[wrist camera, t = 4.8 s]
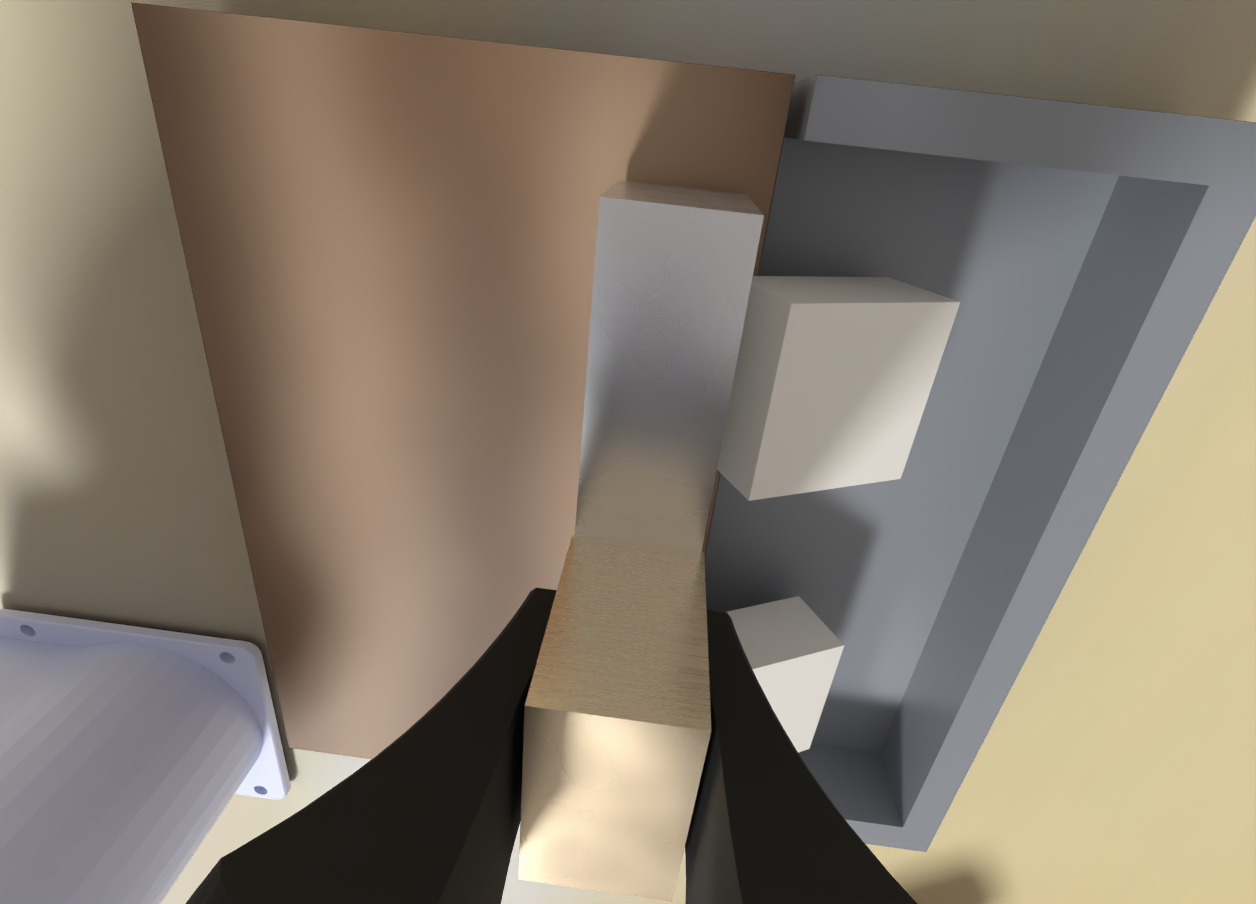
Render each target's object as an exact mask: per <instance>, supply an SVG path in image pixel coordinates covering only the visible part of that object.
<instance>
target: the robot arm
mask: <svg viewBox="0 0 1256 904" xmlns="http://www.w3.org/2000/svg"><path fill="white" fill-rule="evenodd" d="M556 591H557V590H551V589H544V588H535V589H533V590H532V591H530V593H529V594H528V596H527V598H526V599H525V601H524V602H523V604H522V605H521V606H520V608H519V609H518V611H517V612H516V614H515V615H514V616H513V618H512V619H511V620H510V622H509V623H508V624H507V626H506V627H505V628H504V629H503V631H502V632H501V633H500V635H499V636H498V637H497V638H496V639H495V640H494V642H493V643H492V644H491V645H490V646H489V648H488V649H487V650H486V651H485V652H484V654H483V655H482V656H481V657H480V658H479V660H478V661H477V662H476V663H475V664H474V665H473V666H472V667H471V668H470V669H469V670H468V672H467V673H466V674H465V675H464V676H463V677H462V678H461V679H460V680H459V681H458V682H457V683H456V684H455V685H454V686H453V687H452V688H451V689H450V691H449V692H448V693H447V694H446V695H445V696H444V697H443V698H442V699H441V700H440V701H439V702H437V703H436V704H435V705H434V706H433V707H432V708H431V709H430V710H429V711H428V712H427V713H426V714H425V715H424V716H423V717H422V718H420V719H419V720H418V721H417V722H416V723H415V724H414V725H413V726H411V727H410V728H409V729H408V730H407V731H406V732H405V733H404V734H402V735H401V736H400V737H399V738H398V739H396V740H395V741H394V742H393V743H391V744H390V745H389V746H388V747H387V748H385V749H384V750H383V751H382V752H380V753H379V754H378V755H377V756H376V757H374V758H373V759H372V760H370V761H369V762H368V763H367V764H365V765H364V766H363V767H361V768H360V769H359V770H357V771H356V772H355V773H353V774H352V775H351V776H349V777H348V778H346V779H345V780H343V781H342V782H341V783H339V784H338V785H336V786H335V787H333V788H332V789H331V790H329V791H328V792H326V793H325V794H323V795H322V796H320V797H319V798H318V799H316V800H315V801H313V802H312V803H310V804H309V805H308V806H306V807H305V808H303V809H302V810H300V811H299V812H297V813H295V814H294V815H292V816H291V817H289V818H288V819H286V820H284V821H283V822H281V823H279V824H278V825H276V826H274V827H273V828H271V829H269V830H268V831H266V832H264V833H263V834H261V835H259V836H258V837H256V838H254V839H253V840H251V841H249V842H248V843H246V844H245V845H243V846H241V847H240V848H238V849H236V850H235V851H233V852H231V853H229V854H228V855H226V856H224V857H222V858H221V859H220V860H219V861H218V863H217V864H216V865H215V866H214V868H213V869H212V870H211V872H210V873H209V874H208V876H207V877H206V878H205V879H204V881H203V882H202V883H201V884H200V886H199V887H198V888H197V889H196V891H195V892H194V893H193V895H192V896H191V897H190V899H189V900H188V901H187V903H186V904H501V899H502V894H503V890H504V885H505V881H506V876H507V871H508V867H509V862H510V858H511V853H512V850H513V846H514V842H515V838H516V835H517V831H518V828H519V824H520V821H521V797H522V768H523V740H524V712H525V703H526V699H527V696H528V692H529V688H530V685H531V681H532V678H533V674H534V670H535V667H536V663H537V660H538V656H539V653H540V649H541V645H542V642H543V638H544V635H545V631H546V627H547V624H548V620H549V617H550V613H551V609H552V606H553V602H554V599H555V595H556ZM707 635H708V660H709V685H710V710H711V735H710V739H709V743H708V748H707V752H706V757H705V761H704V765H703V770H702V774H701V778H700V783H699V787H698V791H697V796H696V800H695V804H694V809H693V813H692V817H691V822H690V826H689V830H688V835H687V839H686V843H685V851H686V904H917V903H916V902H915V901H914V900H913V899H912V897H911V896H910V895H909V894H908V893H907V892H906V891H905V890H904V889H903V888H902V886H901V885H900V884H899V883H898V882H897V881H896V880H895V879H894V878H893V877H892V876H891V874H890V873H889V872H888V871H887V870H886V868H885V867H884V866H883V865H882V864H881V862H880V861H879V860H878V859H877V858H876V856H875V855H874V854H873V853H872V852H871V850H870V849H869V848H868V847H867V846H866V844H865V843H864V842H863V841H862V840H861V838H860V837H859V836H858V835H857V834H856V832H855V831H854V830H853V829H852V828H851V826H850V825H849V824H848V823H847V821H846V820H845V819H844V817H843V816H842V815H841V813H840V812H839V811H838V809H837V808H836V807H835V805H834V804H833V803H832V801H831V800H830V799H829V797H828V796H827V795H826V793H825V792H824V790H823V789H822V787H821V786H820V785H819V783H818V782H817V780H816V779H815V777H814V776H813V774H812V773H811V772H810V770H809V769H808V767H807V765H806V764H805V762H804V761H803V759H802V758H801V756H800V755H799V753H798V751H797V750H796V748H795V747H794V745H793V743H792V742H791V740H790V738H789V737H788V735H787V733H786V732H785V730H784V728H783V727H782V725H781V723H780V721H779V720H778V718H777V716H776V714H775V712H774V711H773V709H772V707H771V705H770V703H769V701H768V699H767V697H766V695H765V693H764V692H763V690H762V688H761V686H760V684H759V682H758V680H757V678H756V676H755V674H754V672H753V670H752V667H751V665H750V663H749V661H748V659H747V656H746V654H745V652H744V650H743V647H742V645H741V643H740V640H739V638H738V635H737V633H736V630H735V627H734V624H733V622H732V619H731V617H730V616H729V615H728V613H727V612H720V611H712V610H707ZM290 788H291V785H290V780H289V776H288V771H287V766H286V762H285V757H284V753H283V748H282V744H281V739H280V735H279V730H278V725H277V721H276V716H275V712H274V707H273V703H272V698H271V693H270V689H269V684H268V680H267V675H266V671H265V666H264V662H263V657H262V653H261V651H260V649H259V648H258V647H257V646H256V645H254V644H253V643H250V642H247V641H240V640H232V639H225V638H217V637H210V636H203V635H195V634H188V633H181V632H173V631H166V630H159V629H151V628H144V627H136V626H129V625H122V624H114V623H107V622H100V621H92V620H85V619H77V618H70V617H63V616H55V615H48V614H41V613H33V612H26V611H18V610H11V609H0V904H161V902H162V901H163V899H164V898H165V896H166V895H167V893H168V892H169V890H170V889H171V887H172V886H173V884H174V883H175V881H176V880H177V879H178V877H179V876H180V874H181V873H182V871H183V870H184V868H185V867H186V865H187V864H188V862H189V861H190V859H191V858H192V856H193V855H194V853H195V852H196V850H197V849H198V847H199V846H200V844H201V843H202V841H203V840H204V838H205V837H206V835H207V834H208V833H209V831H210V830H211V828H212V827H213V825H214V824H215V822H216V821H217V819H218V818H219V816H220V815H221V813H222V812H223V810H224V809H225V807H226V806H227V804H228V803H229V801H230V800H231V798H232V797H233V795H234V794H241V795H248V796H255V797H262V798H269V799H282V798H285V796H286V795H287V794H288V792H289V790H290Z"/></svg>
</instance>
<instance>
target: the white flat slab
mask: <svg viewBox="0 0 1256 904" xmlns="http://www.w3.org/2000/svg"><path fill="white" fill-rule="evenodd" d="M763 218H764V215H763V214H762V212H761V211H760V210H759V209H758V208H757V206H756V205H755V204H754V203H753V201H752V200H751V199H750V198H749V197H748V195H745V194H736V193H728V192H719V191H710V190H701V189H692V188H684V187H675V186H666V185H657V184H649V183H640V182H631V181H622V180H618V181H617V182H616V183H615V184H614V185H613V186H611V187H610V188H609V189H608V190H607V191H605V192H604V193H603V194H602V195H601V196H600V197H599V211H598V225H597V238H596V252H595V266H594V279H593V293H592V307H591V320H590V334H589V347H588V361H587V375H586V388H585V402H584V416H583V429H582V443H581V457H580V470H579V484H578V498H577V511H576V525H575V536H573V535H572V537H571V541H570V545H569V548H568V552H567V555H566V559H565V563H564V566H563V570H562V573H561V577H560V581H559V584H558V588H557V591H556V595H555V599H554V602H553V606H552V609H551V613H550V617H549V620H548V624H547V627H546V631H545V635H544V638H543V642H542V645H541V649H540V653H539V656H538V660H537V663H536V667H535V670H534V674H533V678H532V681H531V685H530V688H529V692H528V696H527V699H526V703H525V712H524V740H523V768H522V797H521V825H520V853H519V879H520V880H527V881H534V882H541V883H548V884H554V885H561V886H568V887H575V888H582V889H589V890H596V891H603V892H610V893H617V894H624V895H631V896H638V897H645V898H652V899H658V900H665V901H672V900H673V896H674V891H675V887H676V883H677V878H678V874H679V870H680V865H681V861H682V856H683V852H684V848H685V843H686V839H687V835H688V830H689V826H690V822H691V817H692V813H693V809H694V804H695V800H696V796H697V791H698V787H699V783H700V778H701V774H702V770H703V765H704V761H705V757H706V752H707V748H708V743H709V739H710V735H711V710H710V685H709V660H708V635H707V610H706V585H705V560H704V552H702V547H703V542H704V536H705V531H706V525H707V520H708V515H709V509H710V504H711V498H712V493H713V488H714V482H715V477H716V471H717V466H718V461H719V455H720V450H721V444H722V439H723V434H724V428H725V423H726V418H727V412H728V407H729V401H730V396H731V391H732V385H733V380H734V374H735V369H736V364H737V358H738V353H739V347H740V342H741V337H742V331H743V326H744V320H745V315H746V310H747V304H748V299H749V293H750V288H751V283H752V277H753V272H754V267H755V261H756V256H757V250H758V245H759V240H760V234H761V229H762V223H763Z"/></svg>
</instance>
